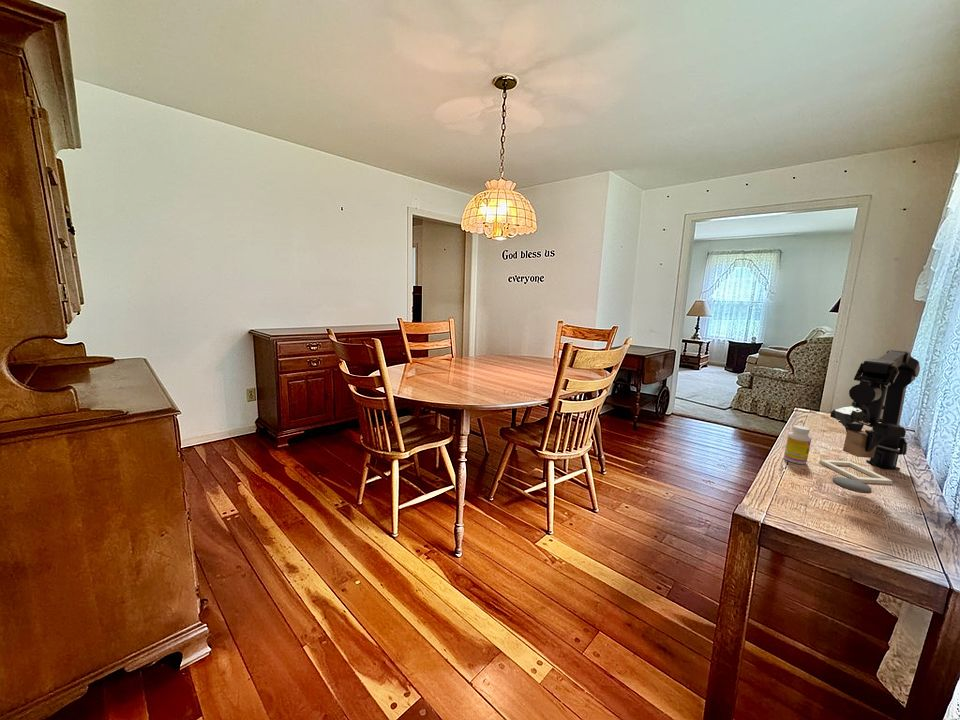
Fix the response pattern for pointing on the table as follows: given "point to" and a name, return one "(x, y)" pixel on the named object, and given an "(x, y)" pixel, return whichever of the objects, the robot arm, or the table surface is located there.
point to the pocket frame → (875, 479)
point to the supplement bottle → (798, 445)
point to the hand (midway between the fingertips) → (859, 448)
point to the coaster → (851, 484)
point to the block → (857, 444)
